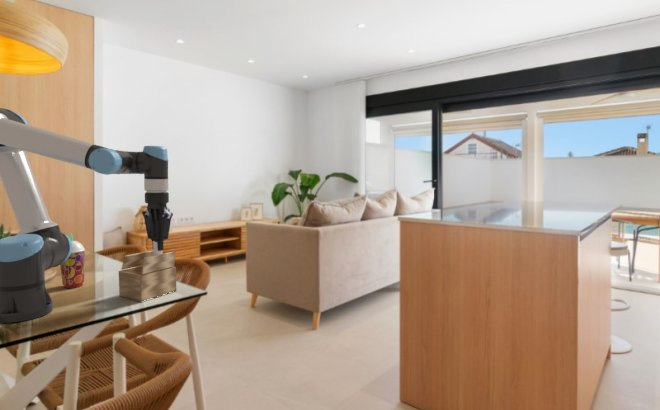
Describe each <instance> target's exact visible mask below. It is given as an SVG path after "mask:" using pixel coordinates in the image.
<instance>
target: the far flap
mask: <svg viewBox="0 0 660 410" xmlns="http://www.w3.org/2000/svg"><path fill="white" fill-rule="evenodd" d="M150 256H153V250H148V251H143V252H137V253H133V254H127V255H125V256H124V258H123V262H122V264H121V267H120V271H121V270H126V269H130V268H134V267H139V266H143V259H144V258H145V257H150Z"/></svg>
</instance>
